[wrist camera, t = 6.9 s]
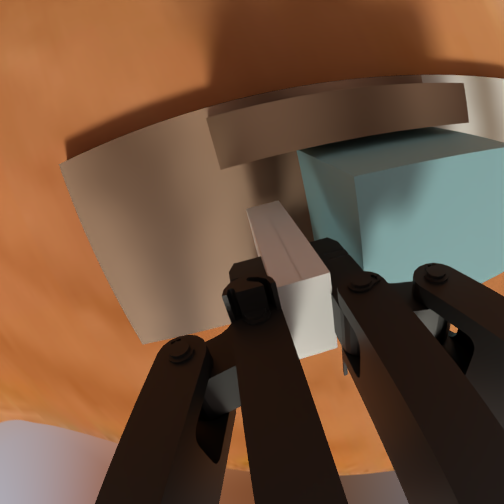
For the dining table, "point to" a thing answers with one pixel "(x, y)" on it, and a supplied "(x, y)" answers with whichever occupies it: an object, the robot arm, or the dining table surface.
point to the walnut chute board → (237, 183)
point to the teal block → (410, 201)
